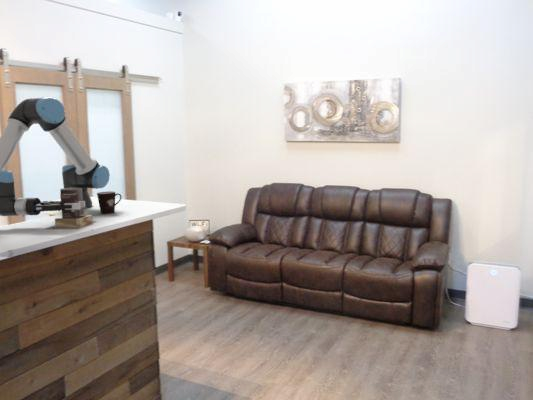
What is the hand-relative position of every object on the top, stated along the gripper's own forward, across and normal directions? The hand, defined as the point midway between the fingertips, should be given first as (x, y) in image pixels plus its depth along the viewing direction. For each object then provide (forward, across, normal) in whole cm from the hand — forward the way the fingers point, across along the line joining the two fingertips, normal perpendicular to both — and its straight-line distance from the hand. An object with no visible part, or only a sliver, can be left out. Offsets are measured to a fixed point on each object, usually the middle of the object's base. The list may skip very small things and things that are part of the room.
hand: (82, 205), depth 214 cm
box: (-5, 0, -7) cm, 9 cm away
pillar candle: (-13, -21, -9) cm, 26 cm away
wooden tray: (-4, 0, -8) cm, 9 cm away
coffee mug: (+1, -31, -9) cm, 33 cm away
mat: (-5, 0, -9) cm, 10 cm away
